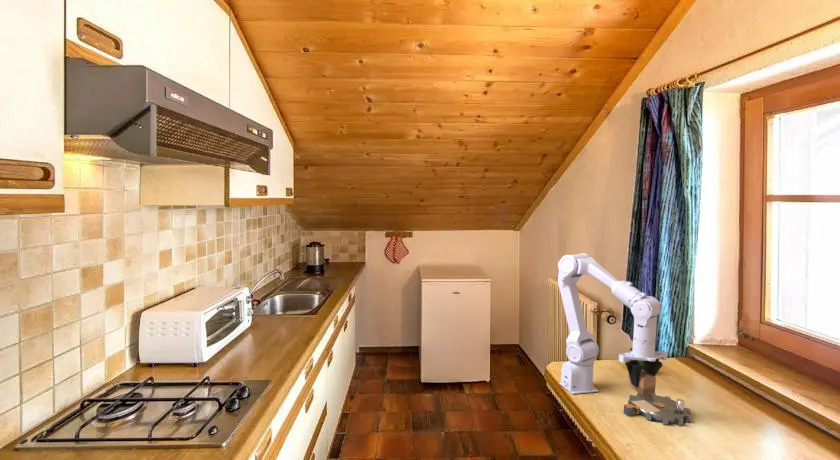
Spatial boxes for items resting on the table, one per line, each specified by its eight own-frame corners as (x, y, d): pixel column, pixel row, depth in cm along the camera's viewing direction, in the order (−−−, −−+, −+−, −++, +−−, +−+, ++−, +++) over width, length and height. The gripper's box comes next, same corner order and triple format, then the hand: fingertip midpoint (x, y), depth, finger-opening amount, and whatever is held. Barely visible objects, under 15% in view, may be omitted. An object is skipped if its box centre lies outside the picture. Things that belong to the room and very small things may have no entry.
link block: (654, 394, 121) (656, 376, 121) (642, 395, 121) (643, 377, 120) (639, 385, 127) (640, 368, 127) (628, 386, 126) (629, 369, 126)
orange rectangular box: (627, 416, 122) (628, 407, 122) (623, 413, 124) (624, 404, 124) (635, 415, 123) (635, 406, 123) (630, 412, 125) (631, 403, 124)
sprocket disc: (619, 408, 126) (620, 392, 126) (640, 392, 137) (641, 377, 137) (680, 431, 114) (681, 413, 114) (698, 411, 125) (699, 395, 125)
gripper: (631, 345, 117) (628, 392, 118) (676, 342, 120) (673, 388, 121) (615, 336, 124) (612, 381, 125) (657, 334, 127) (655, 378, 128)
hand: (641, 384), depth 124 cm, fingers closed on link block, 4 cm apart
